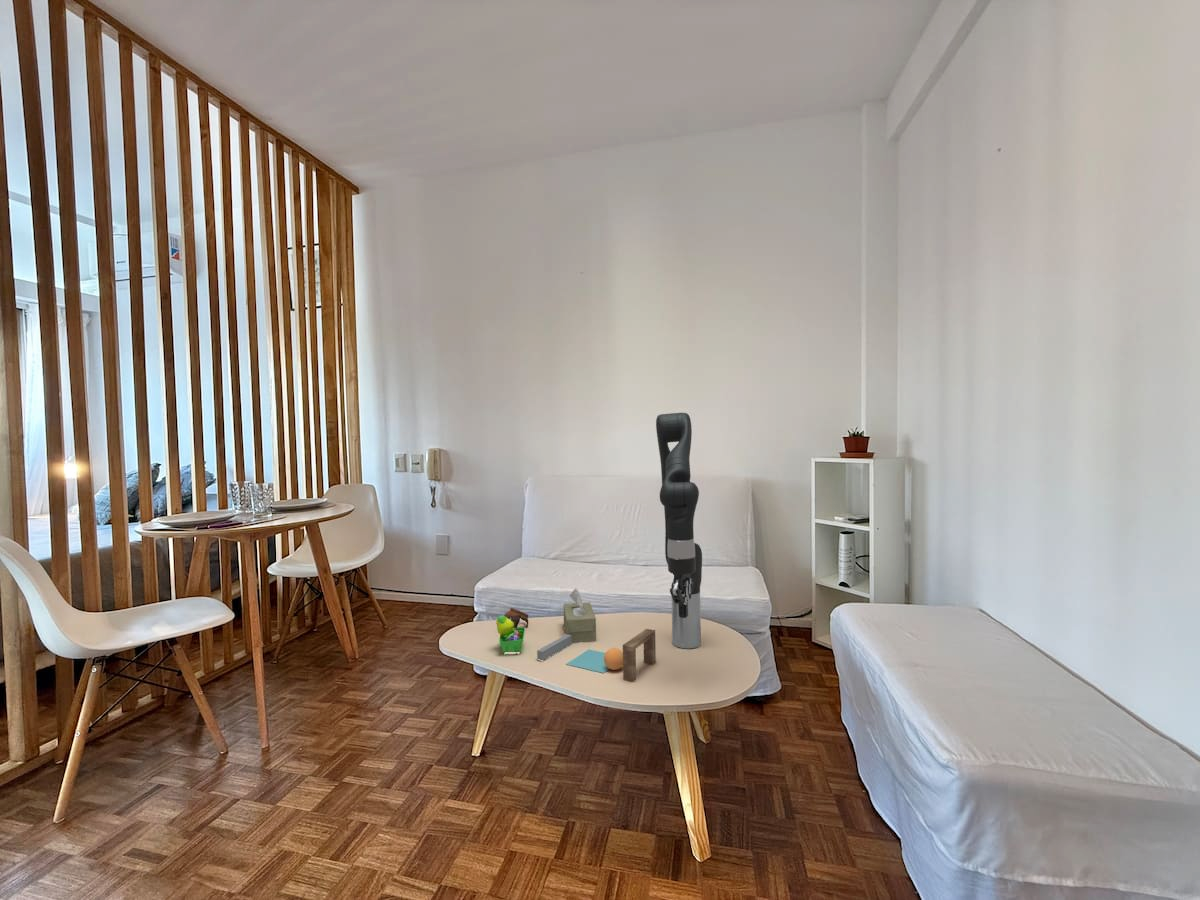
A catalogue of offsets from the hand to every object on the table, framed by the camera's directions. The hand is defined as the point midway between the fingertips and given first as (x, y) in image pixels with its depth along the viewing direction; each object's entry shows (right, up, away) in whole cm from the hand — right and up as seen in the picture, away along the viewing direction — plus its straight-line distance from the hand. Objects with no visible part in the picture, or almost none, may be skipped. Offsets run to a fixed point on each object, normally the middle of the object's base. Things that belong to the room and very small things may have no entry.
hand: (683, 616), depth 148 cm
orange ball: (-19, -15, +8) cm, 26 cm away
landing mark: (-24, -18, +15) cm, 34 cm away
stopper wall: (-37, -18, +22) cm, 47 cm away
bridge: (-11, -18, +7) cm, 22 cm away
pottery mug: (-54, -19, +45) cm, 72 cm away
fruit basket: (-52, -19, +25) cm, 61 cm away
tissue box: (-30, -18, +39) cm, 53 cm away
